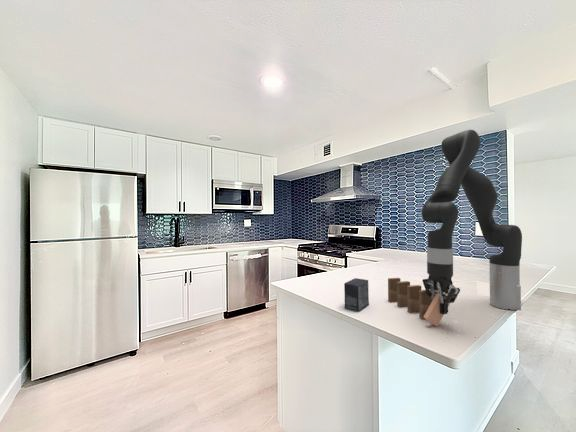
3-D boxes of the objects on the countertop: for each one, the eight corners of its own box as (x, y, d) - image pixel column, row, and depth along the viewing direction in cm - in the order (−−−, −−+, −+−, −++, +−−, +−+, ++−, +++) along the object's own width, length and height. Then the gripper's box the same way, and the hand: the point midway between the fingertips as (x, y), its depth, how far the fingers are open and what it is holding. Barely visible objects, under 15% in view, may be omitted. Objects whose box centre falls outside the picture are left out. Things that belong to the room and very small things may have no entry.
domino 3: (407, 311, 95) (407, 285, 95) (418, 310, 96) (418, 284, 96) (410, 313, 93) (410, 286, 93) (421, 311, 94) (421, 286, 94)
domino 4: (419, 317, 89) (419, 290, 89) (430, 316, 90) (430, 289, 90) (422, 319, 87) (422, 291, 87) (434, 318, 88) (434, 290, 88)
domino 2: (397, 306, 101) (396, 281, 101) (407, 305, 102) (407, 281, 102) (399, 307, 99) (399, 282, 99) (410, 306, 100) (410, 281, 100)
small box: (354, 301, 107) (354, 277, 107) (369, 304, 102) (369, 279, 103) (343, 308, 98) (343, 282, 98) (359, 312, 94) (358, 285, 94)
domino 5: (423, 317, 82) (437, 291, 84) (433, 324, 83) (447, 299, 85) (427, 319, 81) (441, 293, 82) (437, 326, 82) (451, 300, 83)
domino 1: (388, 301, 106) (388, 278, 106) (398, 300, 108) (397, 277, 108) (390, 302, 105) (390, 279, 105) (400, 301, 106) (400, 278, 106)
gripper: (468, 264, 77) (468, 319, 77) (432, 257, 91) (432, 304, 90) (448, 265, 75) (448, 322, 75) (415, 258, 89) (415, 306, 89)
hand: (440, 312), depth 83 cm, fingers closed
